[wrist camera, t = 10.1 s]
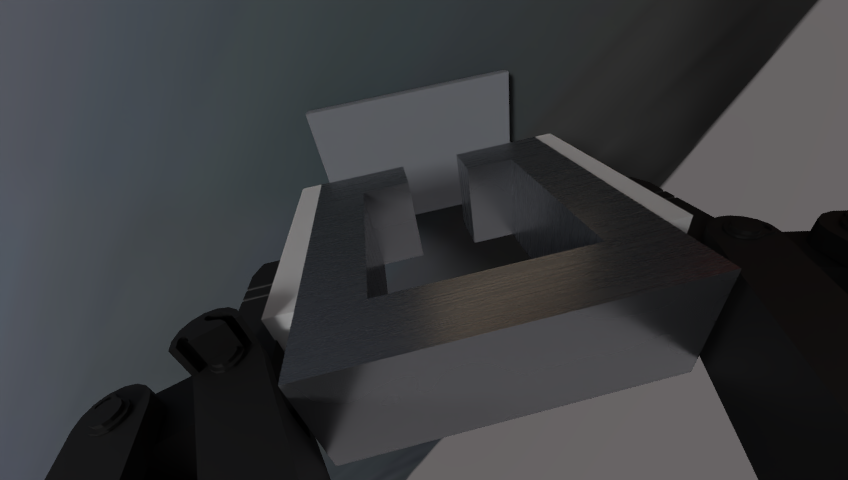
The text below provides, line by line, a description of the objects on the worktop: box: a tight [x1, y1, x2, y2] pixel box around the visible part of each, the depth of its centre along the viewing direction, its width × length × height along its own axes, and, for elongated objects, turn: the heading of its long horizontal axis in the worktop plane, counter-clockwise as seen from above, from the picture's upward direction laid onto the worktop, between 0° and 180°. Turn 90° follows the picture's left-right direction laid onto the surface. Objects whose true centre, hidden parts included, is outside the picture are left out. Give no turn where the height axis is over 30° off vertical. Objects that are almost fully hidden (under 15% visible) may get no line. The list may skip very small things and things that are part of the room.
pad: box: [306, 70, 510, 215], centre depth 16 cm, size 6×9×1 cm, turn 100°
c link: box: [278, 137, 741, 466], centre depth 10 cm, size 8×3×8 cm, turn 100°
